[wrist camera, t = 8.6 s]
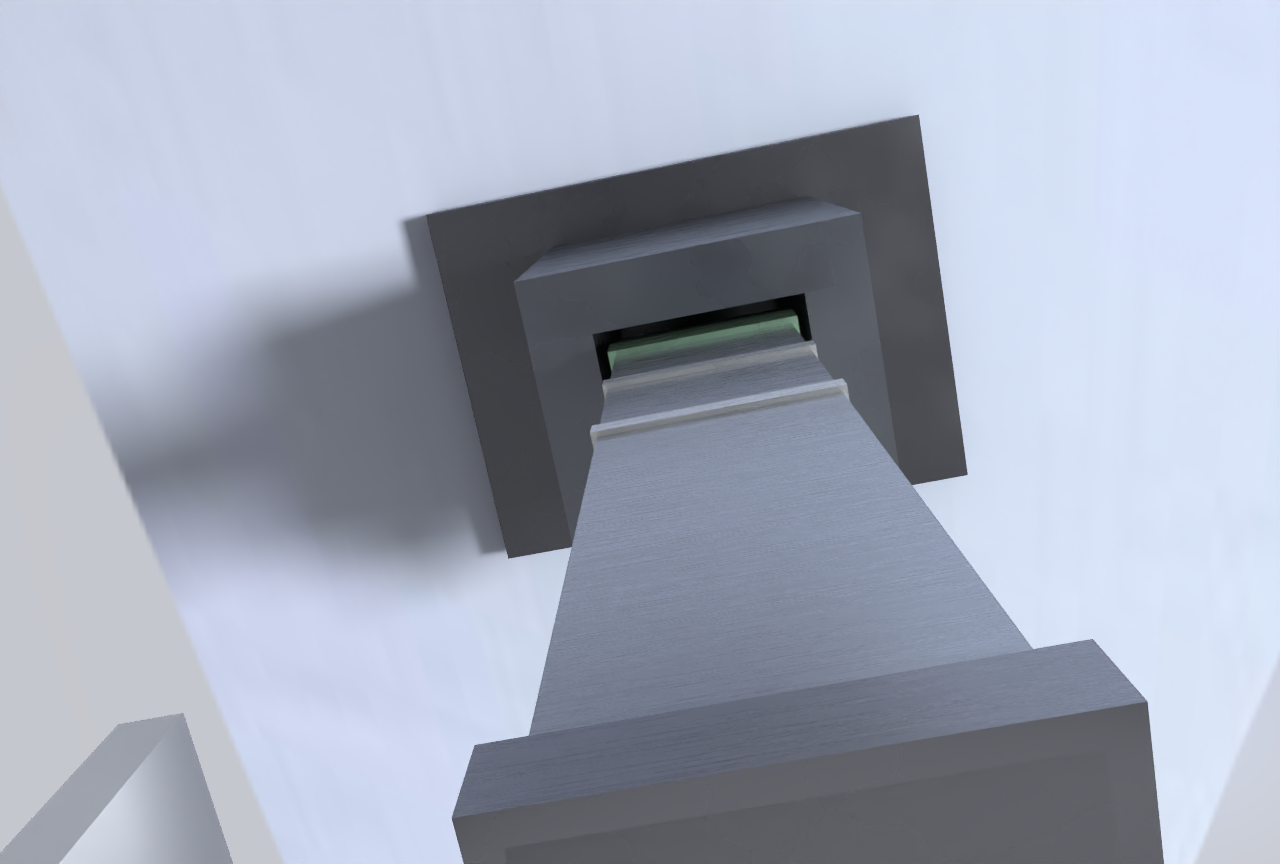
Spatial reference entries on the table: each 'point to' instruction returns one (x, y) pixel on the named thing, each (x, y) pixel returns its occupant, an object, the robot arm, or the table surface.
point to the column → (792, 652)
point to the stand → (698, 300)
